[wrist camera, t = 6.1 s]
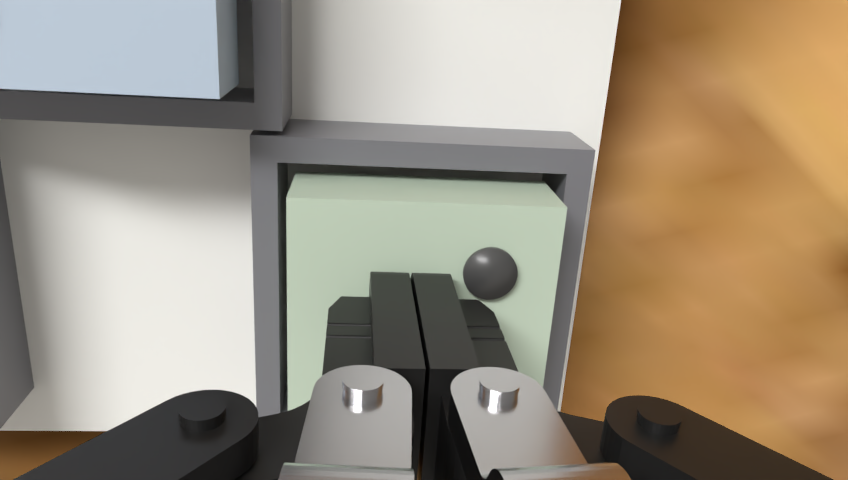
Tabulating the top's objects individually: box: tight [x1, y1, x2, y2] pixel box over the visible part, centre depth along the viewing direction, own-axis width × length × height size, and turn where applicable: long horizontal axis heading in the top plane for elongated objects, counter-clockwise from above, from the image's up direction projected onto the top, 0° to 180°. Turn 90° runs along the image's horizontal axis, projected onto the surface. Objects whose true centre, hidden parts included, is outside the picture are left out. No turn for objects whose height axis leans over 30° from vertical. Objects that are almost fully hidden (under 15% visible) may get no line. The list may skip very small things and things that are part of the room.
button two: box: [286, 171, 567, 411], centre depth 14 cm, size 5×5×2 cm
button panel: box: [0, 0, 621, 431], centre depth 15 cm, size 20×15×4 cm
